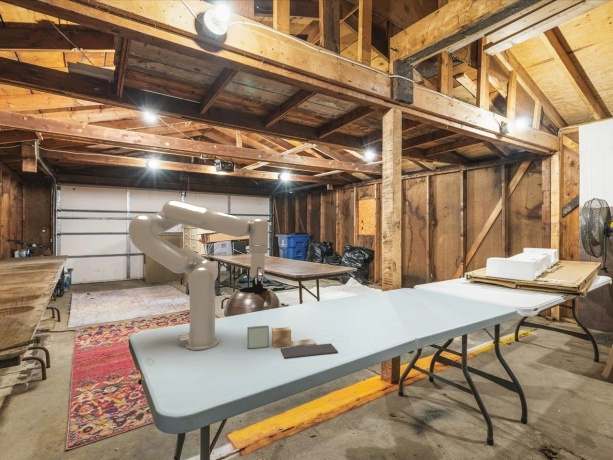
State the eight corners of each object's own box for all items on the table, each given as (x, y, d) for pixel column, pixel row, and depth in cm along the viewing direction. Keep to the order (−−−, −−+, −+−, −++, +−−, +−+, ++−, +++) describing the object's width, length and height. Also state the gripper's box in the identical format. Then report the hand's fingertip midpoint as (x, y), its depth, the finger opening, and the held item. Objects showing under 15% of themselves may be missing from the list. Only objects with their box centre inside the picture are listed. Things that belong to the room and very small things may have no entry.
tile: (247, 349, 114) (247, 328, 114) (247, 347, 116) (247, 327, 116) (268, 347, 117) (268, 326, 116) (268, 345, 118) (268, 325, 118)
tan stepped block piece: (273, 349, 115) (273, 332, 115) (271, 344, 120) (271, 327, 120) (316, 344, 119) (316, 328, 119) (312, 340, 124) (312, 324, 124)
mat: (284, 358, 106) (284, 357, 106) (280, 349, 114) (280, 348, 114) (337, 353, 111) (337, 351, 111) (330, 344, 119) (330, 343, 119)
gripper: (247, 247, 130) (246, 287, 130) (250, 251, 113) (249, 296, 113) (264, 248, 132) (263, 287, 132) (270, 251, 115) (269, 296, 115)
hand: (257, 291), depth 123 cm, fingers open, 9 cm apart
